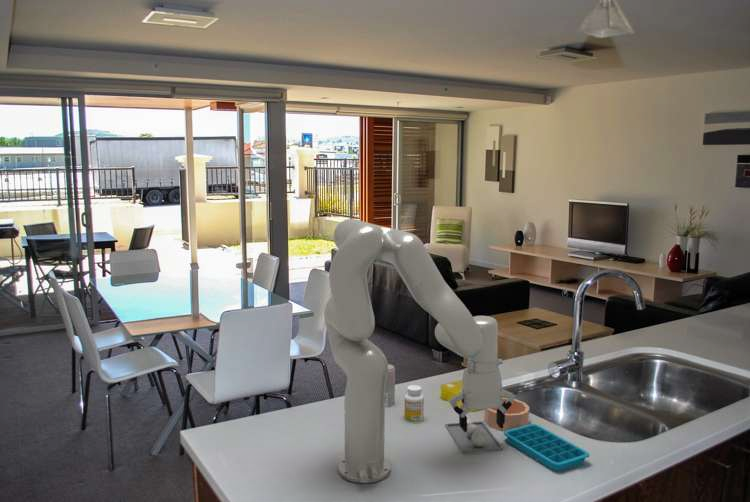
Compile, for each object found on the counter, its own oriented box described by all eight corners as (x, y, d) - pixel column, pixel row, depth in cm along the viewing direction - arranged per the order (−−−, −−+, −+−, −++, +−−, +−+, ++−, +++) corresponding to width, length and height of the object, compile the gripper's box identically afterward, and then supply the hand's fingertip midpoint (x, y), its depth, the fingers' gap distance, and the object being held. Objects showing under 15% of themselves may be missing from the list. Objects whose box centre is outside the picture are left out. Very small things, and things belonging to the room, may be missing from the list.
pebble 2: (481, 440, 163) (481, 427, 163) (468, 440, 163) (468, 428, 162) (477, 433, 167) (477, 421, 166) (464, 434, 166) (464, 422, 166)
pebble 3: (488, 449, 158) (489, 434, 158) (473, 450, 158) (474, 435, 157) (483, 442, 162) (484, 427, 162) (469, 443, 162) (469, 428, 161)
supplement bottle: (411, 414, 180) (412, 382, 179) (426, 419, 177) (427, 387, 175) (400, 420, 176) (401, 387, 175) (416, 425, 173) (416, 392, 171)
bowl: (535, 430, 170) (535, 413, 169) (493, 433, 168) (494, 416, 167) (518, 412, 181) (519, 396, 181) (479, 415, 180) (479, 399, 179)
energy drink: (385, 399, 191) (386, 362, 189) (398, 404, 187) (398, 366, 185) (373, 404, 187) (373, 366, 185) (386, 409, 184) (386, 370, 182)
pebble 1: (474, 431, 168) (474, 420, 168) (463, 431, 168) (463, 421, 168) (470, 426, 171) (471, 416, 171) (460, 427, 171) (460, 417, 170)
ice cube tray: (534, 433, 169) (534, 423, 169) (591, 465, 152) (592, 454, 151) (500, 442, 164) (501, 431, 163) (556, 477, 146) (557, 465, 146)
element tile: (506, 404, 189) (507, 389, 188) (470, 415, 181) (470, 399, 180) (473, 388, 201) (473, 374, 200) (437, 398, 193) (438, 384, 192)
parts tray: (503, 451, 158) (503, 447, 158) (461, 454, 156) (461, 450, 156) (482, 424, 174) (482, 421, 173) (444, 427, 172) (444, 423, 172)
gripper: (509, 357, 162) (508, 418, 164) (445, 362, 159) (445, 424, 162) (520, 367, 154) (519, 431, 157) (453, 372, 152) (453, 437, 154)
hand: (482, 427), depth 159 cm, fingers open, 9 cm apart
